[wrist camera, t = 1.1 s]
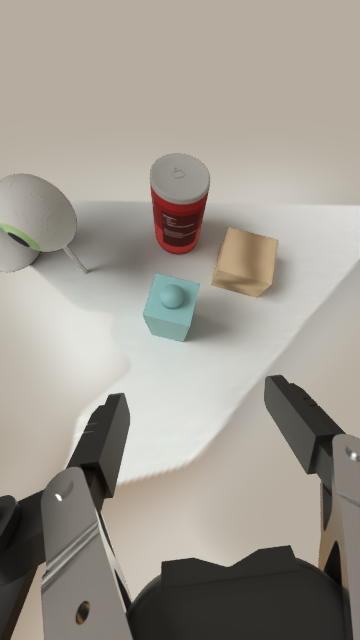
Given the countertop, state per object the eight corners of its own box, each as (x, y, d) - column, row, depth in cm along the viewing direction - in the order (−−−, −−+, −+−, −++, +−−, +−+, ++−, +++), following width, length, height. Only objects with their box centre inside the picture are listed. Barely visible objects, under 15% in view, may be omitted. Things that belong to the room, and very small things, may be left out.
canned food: (178, 212, 35) (182, 144, 25) (207, 240, 34) (224, 180, 23) (146, 233, 34) (136, 169, 23) (175, 263, 32) (177, 210, 22)
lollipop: (54, 283, 30) (-52, 199, 16) (76, 248, 32) (-1, 145, 17) (95, 297, 30) (24, 226, 15) (114, 261, 32) (68, 168, 17)
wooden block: (210, 285, 32) (218, 269, 27) (220, 247, 34) (228, 226, 29) (256, 298, 31) (271, 284, 27) (262, 258, 34) (278, 240, 29)
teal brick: (151, 334, 28) (141, 311, 18) (160, 304, 30) (154, 267, 19) (183, 342, 28) (191, 324, 18) (190, 312, 30) (201, 279, 19)
